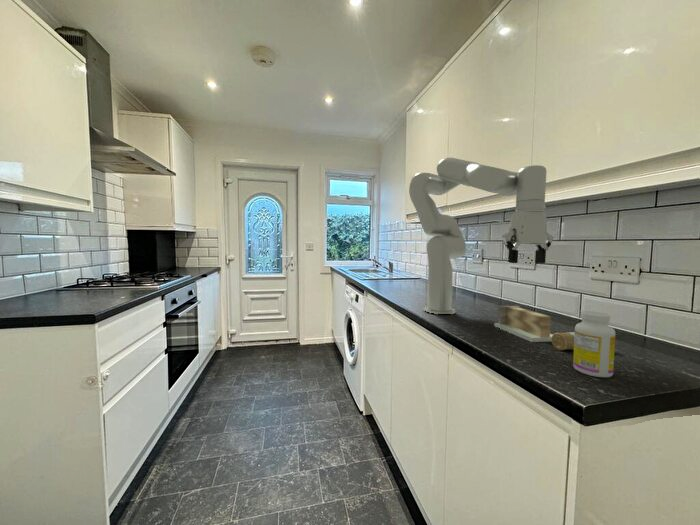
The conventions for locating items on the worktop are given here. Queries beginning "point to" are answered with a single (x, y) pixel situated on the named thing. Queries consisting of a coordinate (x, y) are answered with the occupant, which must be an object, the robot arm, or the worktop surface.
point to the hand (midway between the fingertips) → (526, 262)
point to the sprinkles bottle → (563, 340)
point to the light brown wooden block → (525, 320)
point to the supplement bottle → (594, 345)
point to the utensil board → (522, 333)
